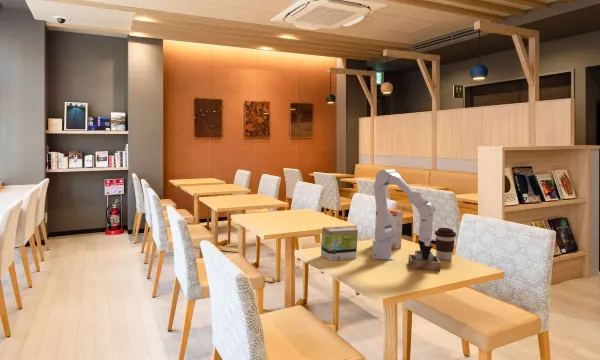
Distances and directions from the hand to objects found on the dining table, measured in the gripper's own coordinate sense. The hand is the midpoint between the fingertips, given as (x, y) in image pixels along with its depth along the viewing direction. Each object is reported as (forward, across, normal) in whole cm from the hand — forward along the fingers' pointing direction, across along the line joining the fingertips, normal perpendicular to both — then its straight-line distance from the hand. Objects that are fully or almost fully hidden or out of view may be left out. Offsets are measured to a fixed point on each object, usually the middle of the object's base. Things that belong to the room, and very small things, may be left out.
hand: (424, 257), depth 193 cm
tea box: (+5, +6, +40) cm, 41 cm away
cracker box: (+5, +34, +15) cm, 37 cm away
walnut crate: (+4, 0, 0) cm, 4 cm away
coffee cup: (+5, +17, -12) cm, 21 cm away
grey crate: (+4, 0, 0) cm, 4 cm away
